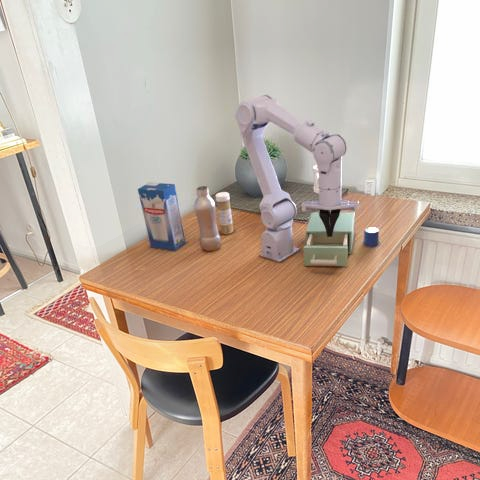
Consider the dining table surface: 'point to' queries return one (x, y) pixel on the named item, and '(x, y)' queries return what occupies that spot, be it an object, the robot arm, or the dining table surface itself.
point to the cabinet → (342, 226)
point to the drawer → (326, 249)
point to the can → (371, 236)
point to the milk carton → (162, 215)
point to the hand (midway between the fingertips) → (330, 235)
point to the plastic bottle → (206, 219)
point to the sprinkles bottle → (224, 212)
